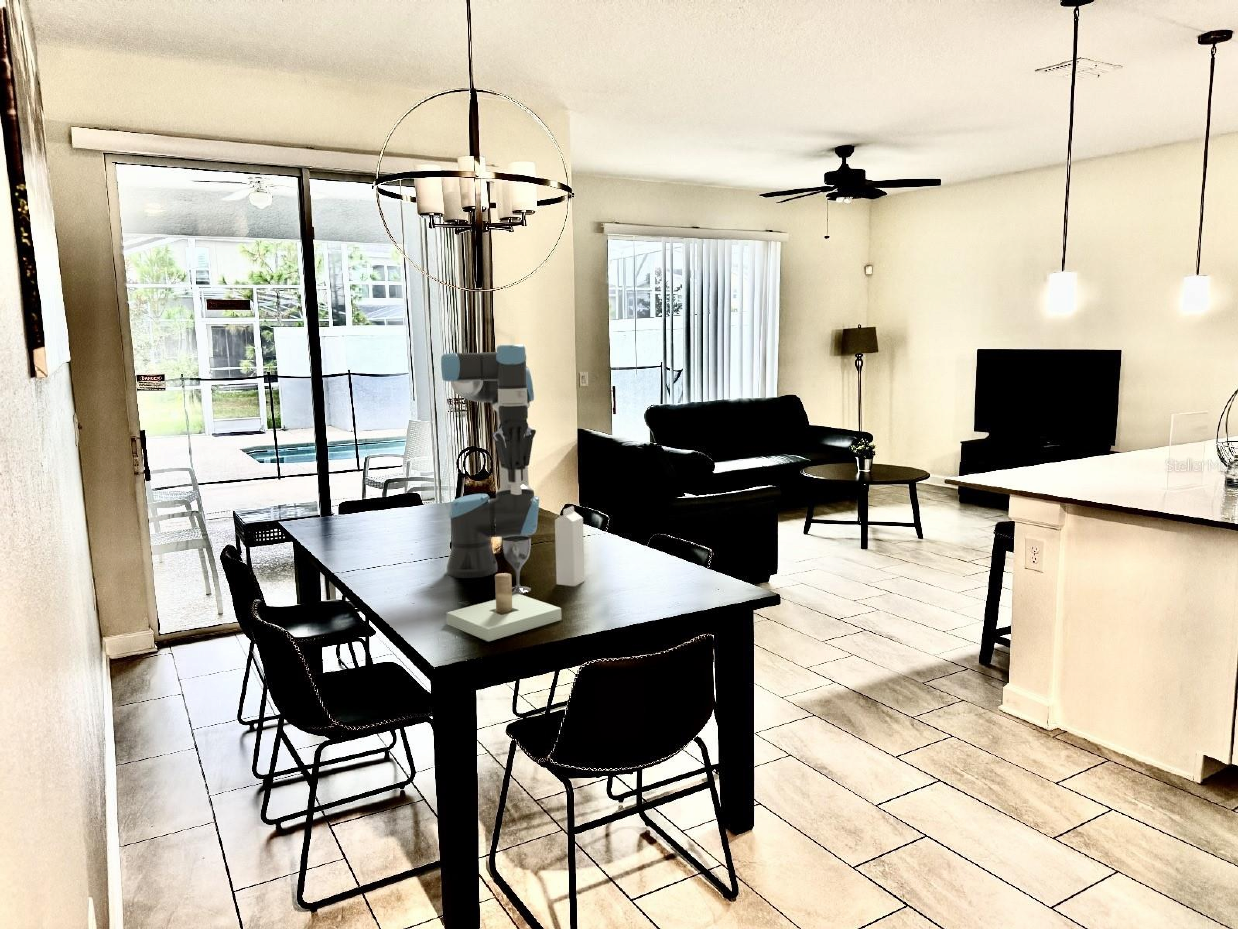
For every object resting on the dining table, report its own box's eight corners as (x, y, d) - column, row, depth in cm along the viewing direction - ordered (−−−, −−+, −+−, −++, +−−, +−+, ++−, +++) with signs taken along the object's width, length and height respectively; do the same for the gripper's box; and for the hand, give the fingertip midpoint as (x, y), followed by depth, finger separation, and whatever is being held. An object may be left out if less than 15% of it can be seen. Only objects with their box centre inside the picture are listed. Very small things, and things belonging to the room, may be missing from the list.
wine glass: (533, 585, 250) (531, 534, 248) (531, 593, 243) (529, 540, 240) (505, 586, 250) (503, 535, 248) (502, 594, 242) (500, 541, 240)
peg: (493, 621, 219) (491, 575, 217) (506, 618, 222) (505, 572, 220) (502, 625, 216) (501, 578, 214) (515, 622, 219) (514, 575, 217)
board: (447, 624, 218) (446, 612, 218) (518, 604, 233) (518, 593, 233) (488, 641, 205) (488, 629, 205) (561, 619, 220) (561, 608, 220)
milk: (556, 584, 251) (553, 509, 248) (566, 579, 257) (564, 505, 254) (575, 586, 249) (572, 510, 246) (585, 581, 254) (582, 506, 251)
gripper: (500, 407, 221) (504, 499, 224) (541, 403, 230) (544, 492, 233) (483, 405, 226) (487, 495, 230) (524, 402, 235) (527, 489, 239)
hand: (516, 493), depth 232 cm, fingers closed
